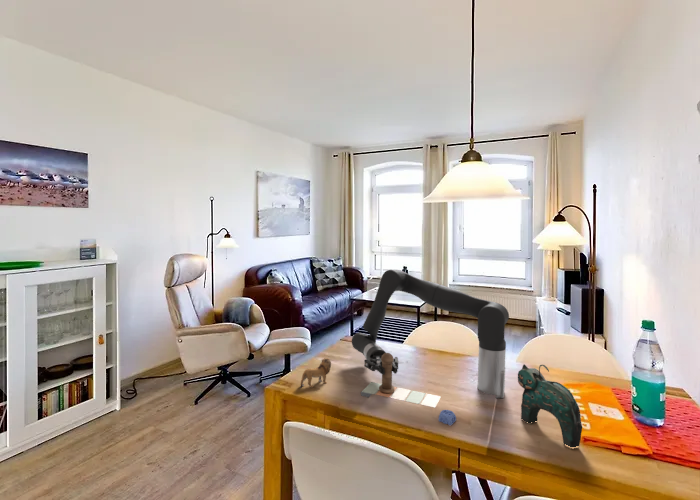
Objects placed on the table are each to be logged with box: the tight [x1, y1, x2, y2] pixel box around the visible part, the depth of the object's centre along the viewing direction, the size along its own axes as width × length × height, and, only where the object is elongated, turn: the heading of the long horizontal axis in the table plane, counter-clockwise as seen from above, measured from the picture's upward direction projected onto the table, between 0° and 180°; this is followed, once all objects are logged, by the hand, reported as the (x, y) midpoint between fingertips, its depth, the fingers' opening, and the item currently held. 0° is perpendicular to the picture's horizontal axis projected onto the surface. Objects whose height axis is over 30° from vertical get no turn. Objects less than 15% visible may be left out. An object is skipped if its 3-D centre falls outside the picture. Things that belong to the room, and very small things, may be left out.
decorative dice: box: [438, 409, 457, 426], centre depth 114 cm, size 4×4×4 cm
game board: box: [360, 381, 442, 409], centre depth 132 cm, size 27×10×1 cm, turn 64°
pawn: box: [378, 352, 395, 394], centre depth 134 cm, size 6×6×14 cm
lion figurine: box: [299, 357, 332, 389], centre depth 143 cm, size 15×5×9 cm, turn 134°
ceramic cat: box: [517, 364, 583, 447], centre depth 111 cm, size 20×6×20 cm, turn 21°
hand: (389, 371), depth 132 cm, fingers open, 4 cm apart
